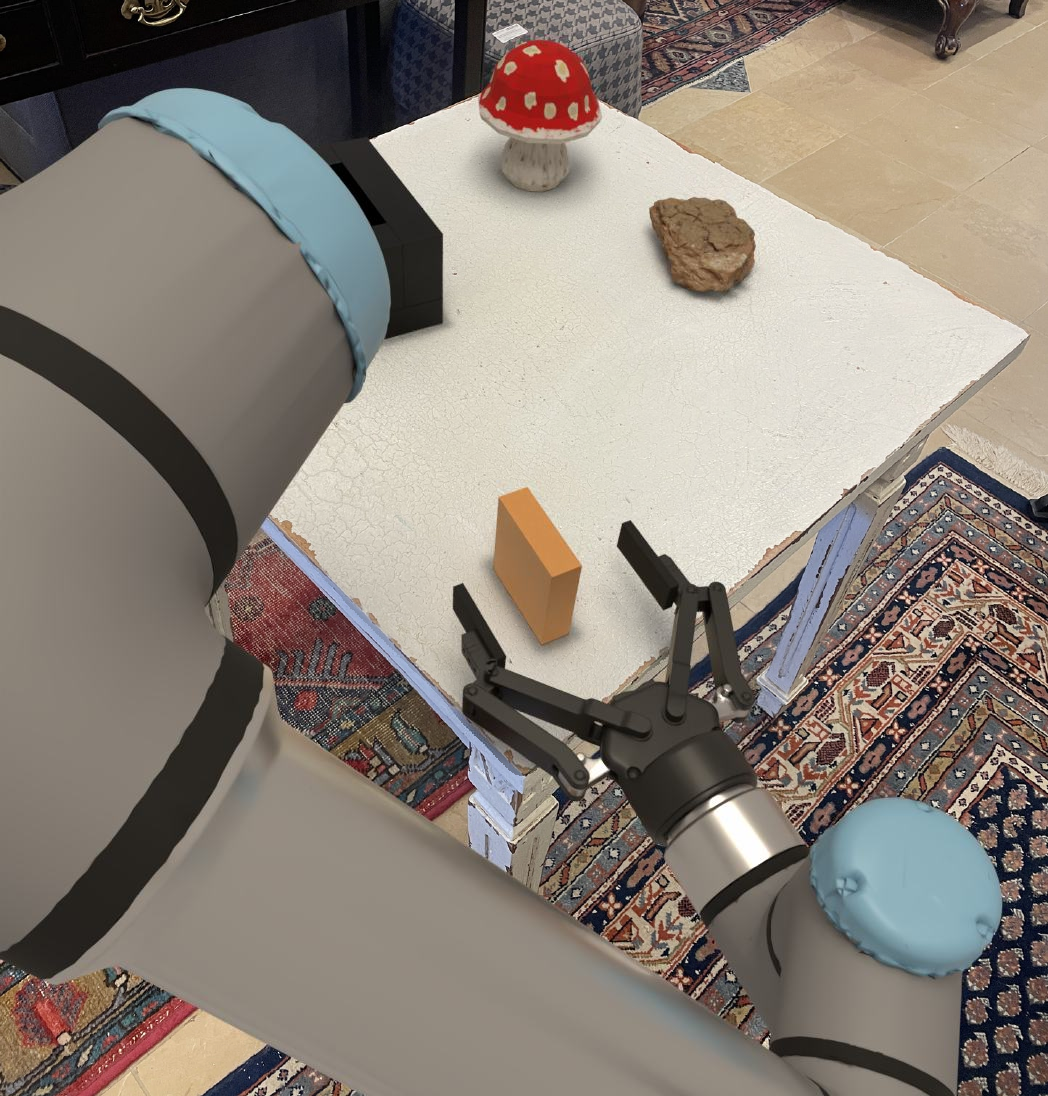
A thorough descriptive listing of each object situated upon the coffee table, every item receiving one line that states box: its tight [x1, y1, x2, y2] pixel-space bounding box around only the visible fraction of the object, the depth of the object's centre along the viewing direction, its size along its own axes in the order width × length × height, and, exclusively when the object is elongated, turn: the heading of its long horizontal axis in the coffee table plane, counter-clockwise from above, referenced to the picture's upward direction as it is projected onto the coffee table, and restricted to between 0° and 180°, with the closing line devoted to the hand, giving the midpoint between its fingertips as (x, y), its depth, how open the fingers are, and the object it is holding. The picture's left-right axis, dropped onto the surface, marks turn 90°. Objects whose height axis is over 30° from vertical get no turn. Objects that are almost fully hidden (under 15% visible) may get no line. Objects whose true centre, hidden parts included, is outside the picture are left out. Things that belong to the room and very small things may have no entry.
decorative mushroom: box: [477, 39, 603, 192], centre depth 106 cm, size 14×14×15 cm
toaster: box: [311, 136, 444, 340], centre depth 93 cm, size 13×18×10 cm
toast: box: [492, 486, 583, 646], centre depth 71 cm, size 2×8×8 cm, turn 28°
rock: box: [648, 196, 757, 292], centre depth 101 cm, size 13×11×5 cm
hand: (543, 563), depth 69 cm, fingers open, 13 cm apart
